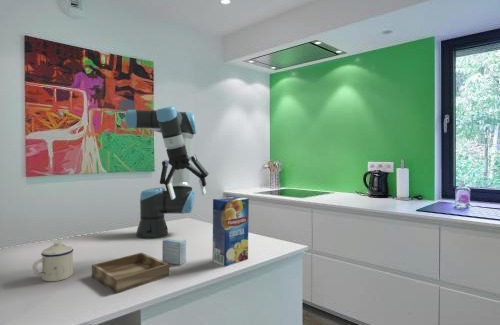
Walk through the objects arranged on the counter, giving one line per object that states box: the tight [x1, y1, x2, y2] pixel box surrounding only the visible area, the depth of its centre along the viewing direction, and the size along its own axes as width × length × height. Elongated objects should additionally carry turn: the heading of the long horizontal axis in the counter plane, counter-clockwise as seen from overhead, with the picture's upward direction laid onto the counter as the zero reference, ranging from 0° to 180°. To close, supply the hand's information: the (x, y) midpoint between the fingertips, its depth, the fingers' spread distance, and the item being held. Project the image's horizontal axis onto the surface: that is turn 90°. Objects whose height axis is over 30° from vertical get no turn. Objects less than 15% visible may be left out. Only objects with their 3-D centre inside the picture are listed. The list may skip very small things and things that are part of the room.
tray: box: [91, 252, 170, 294], centre depth 106 cm, size 18×18×4 cm
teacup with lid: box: [32, 240, 74, 282], centre depth 103 cm, size 12×9×12 cm
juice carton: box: [212, 196, 250, 267], centre depth 122 cm, size 12×8×24 cm, turn 134°
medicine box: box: [161, 237, 187, 266], centre depth 120 cm, size 8×4×9 cm, turn 71°
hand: (188, 196), depth 129 cm, fingers open, 13 cm apart
